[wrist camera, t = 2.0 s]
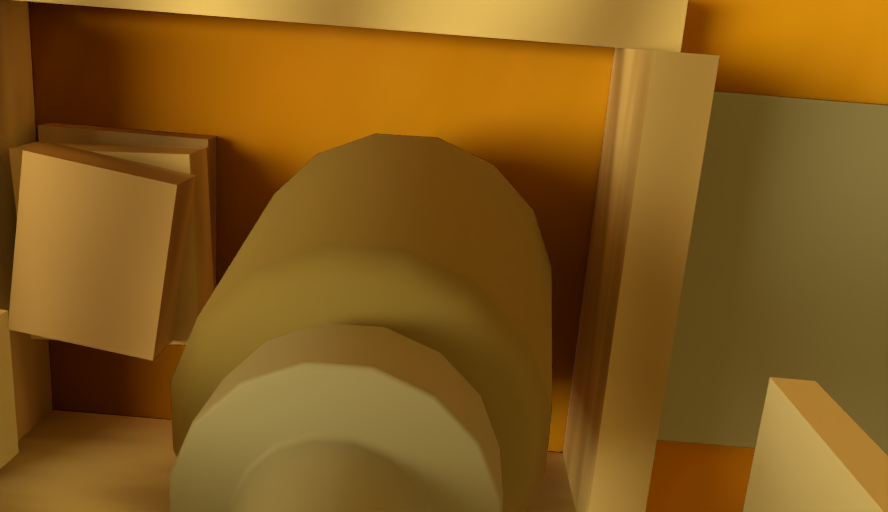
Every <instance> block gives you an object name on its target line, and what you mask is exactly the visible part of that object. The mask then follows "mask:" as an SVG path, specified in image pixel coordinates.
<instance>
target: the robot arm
mask: <svg viewBox="0 0 888 512" xmlns="http://www.w3.org/2000/svg"><path fill="white" fill-rule="evenodd" d="M18 453H19V450H18V437H17V424H16V411H15V398H14V385H13V372H12V359H11V345H10V332H9V319H8V310H0V469H1V468H2V467H3V466H4V465H5V464H6V463H8V462H9V461H10V460H11V459H12V458H13V457H14V456H15V455H16V454H18ZM743 512H888V456H887V455H886V454H885V453H884V452H883V451H882V449H881V448H880V447H879V446H878V445H877V444H876V443H875V442H874V441H873V440H872V439H871V438H870V437H869V436H868V435H867V434H866V433H865V432H864V431H863V430H862V429H861V428H860V427H859V426H858V425H857V424H856V423H855V422H854V421H853V419H852V418H851V417H850V416H849V415H848V414H847V413H846V412H845V411H844V410H843V409H842V408H841V407H840V406H839V405H838V404H837V403H836V402H835V401H834V400H833V399H832V398H831V397H830V396H829V395H828V394H827V393H826V392H825V391H824V390H823V388H822V387H821V386H820V385H819V384H818V383H817V382H816V381H809V380H797V379H786V378H775V377H770V379H769V384H768V388H767V393H766V398H765V403H764V408H763V413H762V418H761V423H760V428H759V433H758V438H757V443H756V448H755V453H754V458H753V463H752V468H751V472H750V477H749V482H748V487H747V492H746V497H745V502H744V507H743Z"/></svg>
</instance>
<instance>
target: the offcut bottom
mask: <svg viewBox="0 0 888 512" xmlns="http://www.w3.org/2000/svg"><path fill="white" fill-rule="evenodd" d="M38 141H39V142H66V143H97V144H127V145H157V146H187V147H207V166H208V185H209V204H210V224H211V244H212V264H213V283H214V290H215V288H216V187H217V136H208V135H196V134H184V133H172V132H160V131H148V130H136V129H124V128H112V127H100V126H88V125H76V124H64V123H47V124H42V125H38Z"/></svg>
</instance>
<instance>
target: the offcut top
mask: <svg viewBox="0 0 888 512" xmlns="http://www.w3.org/2000/svg"><path fill="white" fill-rule="evenodd" d="M195 180H196V175H192V174H187V173H183V172H179V171H174V170H170V169H165V168H161V167H157V166H152V165H148V164H143V163H139V162H135V161H130V160H126V159H121V158H117V157H112V156H108V155H104V154H99V153H95V152H90V151H86V150H82V149H77V148H73V147H68V146H64V145H59V144H55V143H50V144H46V145H42V146H38V147H34V148H30V149H26V150H23V154H22V166H21V178H20V189H19V201H18V213H17V225H16V237H15V249H14V261H13V273H12V285H11V297H10V309H9V330H14V331H18V332H23V333H28V334H32V335H37V336H41V337H46V338H50V339H55V340H60V341H64V342H69V343H73V344H78V345H83V346H87V347H92V348H96V349H101V350H105V351H110V352H115V353H119V354H124V355H128V356H133V357H138V358H142V359H147V360H151V361H153V360H154V359H155V358H156V357H157V356H158V355H159V354H160V353H161V352H162V351H163V350H164V349H165V348H166V347H167V346H168V345H169V344H170V343H171V342H172V339H173V332H174V325H175V319H176V312H177V305H178V298H179V291H180V284H181V277H182V270H183V263H184V256H185V249H186V242H187V235H188V228H189V221H190V214H191V207H192V200H193V194H194V187H195Z"/></svg>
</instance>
